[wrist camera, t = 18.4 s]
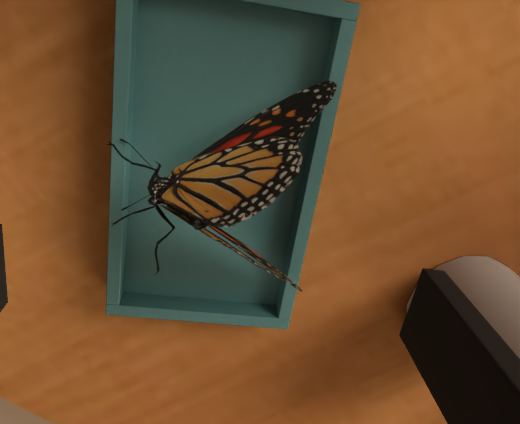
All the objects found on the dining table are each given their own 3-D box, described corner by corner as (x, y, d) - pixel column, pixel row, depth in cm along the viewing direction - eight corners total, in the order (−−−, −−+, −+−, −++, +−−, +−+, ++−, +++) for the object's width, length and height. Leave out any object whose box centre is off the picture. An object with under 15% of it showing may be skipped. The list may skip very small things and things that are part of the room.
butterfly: (102, 283, 25) (243, 248, 31) (187, 389, 18) (347, 318, 24) (93, 59, 21) (259, 68, 27) (200, 88, 14) (391, 91, 20)
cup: (395, 350, 34) (460, 472, 25) (418, 254, 31) (502, 355, 21) (500, 350, 35) (600, 468, 26) (532, 257, 31) (660, 354, 22)
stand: (127, -36, 22) (116, -42, 20) (347, 5, 24) (360, 4, 22) (114, 292, 30) (105, 315, 28) (283, 307, 31) (288, 329, 29)
